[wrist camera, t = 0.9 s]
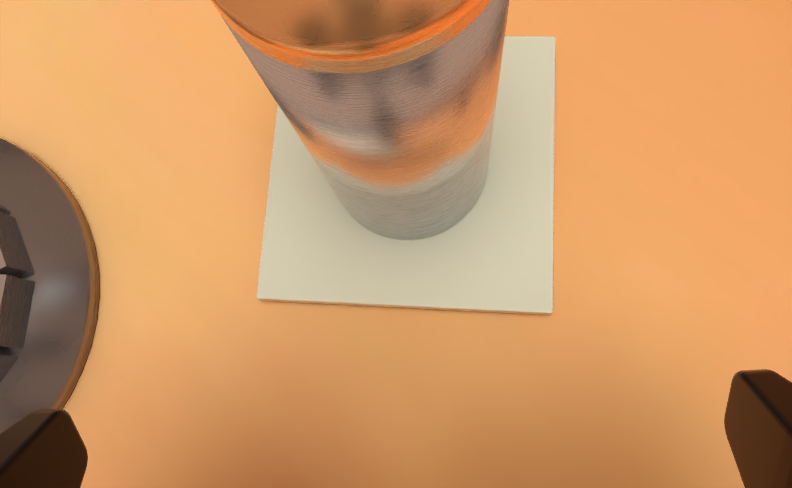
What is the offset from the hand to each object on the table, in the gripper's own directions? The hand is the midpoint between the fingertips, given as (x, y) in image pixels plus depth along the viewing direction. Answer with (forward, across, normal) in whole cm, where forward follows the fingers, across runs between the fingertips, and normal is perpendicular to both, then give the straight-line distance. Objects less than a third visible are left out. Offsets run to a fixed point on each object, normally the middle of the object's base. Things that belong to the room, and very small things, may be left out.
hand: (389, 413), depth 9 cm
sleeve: (+15, 0, +3) cm, 15 cm away
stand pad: (+15, 0, +3) cm, 15 cm away
